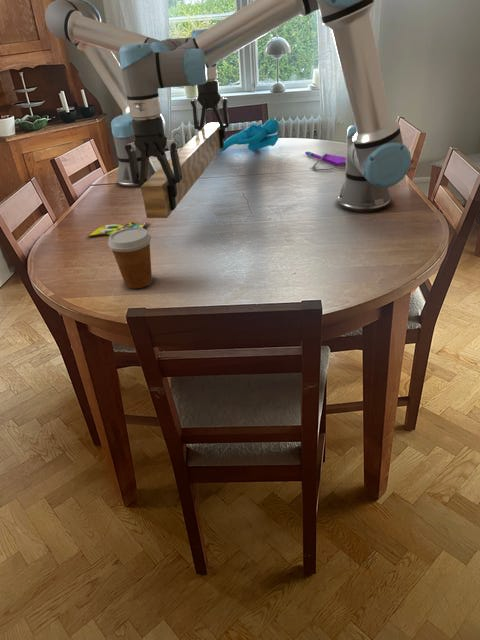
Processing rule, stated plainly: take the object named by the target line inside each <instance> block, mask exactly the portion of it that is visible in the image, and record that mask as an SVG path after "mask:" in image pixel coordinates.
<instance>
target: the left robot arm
mask: <svg viewBox="0 0 480 640" xmlns="http://www.w3.org/2000/svg"><path fill="white" fill-rule="evenodd" d="M44 20H45V24H46V26H47V29H48V30H49V31H50V33H51V34H52V35H53V36H54V37H56V38H57V39H60V40H63V41H66V42H70V43H73V44H74V46H75V47H76V49H77V50H79V51H82V52H84V54H85V55H86V57H87V58H88V60H89V61H90V63H91V65H92V66H93V67H94V69H95V70H96V73H97V74H98V75H99V77H100V78H101V80H102V81H103V83H104V85H105V86H106V88H107V89H108V91H109V93H110V94H111V95H112V97H113V98H114V100H115V103H116V104H117V105H118V106H119V108H120V110H121V112H122V114H120V115H117V116H116V117H114V118H113V119H112V120H111V122H110V127H111V134H112V138H113V142H114V146H115V151H116V156H117V160H118V167H117V168H118V170H117V183H118V186H120V187H123V188H124V187H125V188H136V187H137V188H138V187H140V185H138V184H133V182H132V176H131V170H130V164H129V157H128V154H127V152H126V150H125V146H126V145H127V144H129V143H133V142H134V139H135V136H134V132H133V127H132V119H134V118H132V117H131V116H130V110H129V105H128V100H127V94H126V89H125V84H124V80H123V75H122V70H121V63H120V62H119V60H118V59H117V58H116V55H115V54H119V50H120V48H121V47H122V46H124V45H130V44H142V43H149V44H150V45H151V48H152V50H153V52H166V51H173V50H174V49H175V48H177V47H178V46H180V45H183V44H185V43H186V42H188V41H189V40H191V39H193V38H195V37H196V36H198V35H199V34H201V33H202V32H204V31H206V30H207V29H208V28H203V29H193V30H191V32H190V36H189V37H178V38H177V37H175V38H165V39H162V40H159V39H156V38H154V37H153V38H152V37H150V36H147V35H144V34H141V33H137V32H134V31H131V30H128V29H125V28H123V27H119V26H116V25H112V24H110V23H106V22H103V21H102V17H101V15H100V12H99V10H98V9H97V7H96V6H95V5H94V4H92V3H91V2H89V1H87V0H53V1H52V2H50V3H49V4H48V6H47V7H46V8H45V13H44ZM114 53H115V54H114ZM119 55H120V54H119ZM217 68H218V67H217V63H216V64H214V65H212V66H211V67H209V68H207V69H206V73H207V81H206V83H205V84H200V85H196V88H197V98H195V99H192V100H191V101H190V105H191V107H192V117H193V127H194V130H197V131H198V132H199V131H200V130H201V129H202V128H203V127H204V126H205V125H206V116H207V111H208V110H209V109H210V110H212V111H213V112H214V114H215V117H216V121H217V123H219V125H220V128H221V129H220V130H219V136H220V147H221V148H223V147H224V141H225V140H226V137H227V136H226V129H228V128H229V127H230V125H231V123H230V116H229V107H228V101H229V97H223V96H221V95H220V90H219V80H217V79H218V69H217ZM219 103H221V105H222V112H223V113H222V114H223V117H222V114H221V112H220V108H219ZM198 105H200V106H201V112H200V113H201V114H200V121H199V108H198V107H199V106H198ZM160 116H161V117H162V119H163V125H164V133H166V121H165V118H164V116H163V114H162V113H161V114H160ZM223 139H224V141H223ZM135 152H136V156H137V163H138V170H139V176H140V169H141V152H140V151H139V149H138V148H137V147H136V151H135ZM156 172H157V169H156V168H155V166H154V163H153V161H152V159H151V157H149V163H148V174H147V180H148V179H149V178H150V177H151V176H152V175H153V174H155V173H156Z"/></svg>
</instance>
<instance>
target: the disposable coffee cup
mask: <svg viewBox="0 0 480 640" xmlns="http://www.w3.org/2000/svg"><path fill="white" fill-rule="evenodd" d="M151 239H152V236H151V234H150V233H149V232H148V230H147V229H146V228H144V229H143V228H137V227H136V228H126V229H123V228H122V230H118V231H116V232H114V233H112V234H111V235H109V237H108V242H107V246H108V247H109V248H110V250H111V251H112V254H113V257H114V260H115V261H116V264H117V267H118V269H119V272H120V275H121V277H122V280H123V282H124V284H125V286H126V288H128V289H140V288H145V287H147V286H149V285H150V284H151V283H152V281H153V276H152V260H151V257H152V256H151V244H150V243H151Z"/></svg>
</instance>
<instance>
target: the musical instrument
mask: <svg viewBox="0 0 480 640" xmlns="http://www.w3.org/2000/svg"><path fill="white" fill-rule="evenodd" d="M304 154H305V155H307V156H309V157H312V158H315V159H318V160H317V161H316V162H315V163H314V164H313V165H312V170H314V171H329V170H333V169H336V168H338V167H341V166H346V156H340V155H336V154H329V153H325V154H323V155H319V154H315V153H314V152H311V151H304ZM321 161H324V162H326V163H329V164H332V165H335V166H334V167H330V168H316V165H318V163H320V162H321Z"/></svg>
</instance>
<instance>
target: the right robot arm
mask: <svg viewBox="0 0 480 640" xmlns="http://www.w3.org/2000/svg"><path fill="white" fill-rule="evenodd" d="M374 4H375V0H253V1H251V2H250V3H248V4H247V5H245V6H243V7H242V8H240V9H238V10H237V11H235V12H233V13H232V14H230V15H228V16H227V17H225V18H224V19H222V20H221V21H219V22H217V23H215V24H214V25H212V26H211V27H209V28H206V29H207V30H206V31H204V32H202V33H201V34H199V35H198V36H196V37H195V38H193V39H191V40H189V41H188V42H186V43H185V44H183V45H180V46H178V47H177V48H175V49H174V50H173V51H166V52H153V50H152V48H151V45H150V44H149V43H142V44H130V45H124V46H122V47H121V48H120V50H119V60H120V65H121V70H122V75H123V80H124V84H125V89H126V94H127V100H128V105H129V110H130V116H131V117H132V118H134V119H132V127H133V132H134V136H135V139H134V142H133V143H129V144H127V145H126V146H125V150H126V152H127V154H128V157H129V164H130V170H131V176H132V182H133V184H138V185H140V186H139V187H140V188H141V186H142V185H143V184H144V183H145V182H146V181H147V174H148V163H149V157H150V158H151V157H154V158H156V160H157V161H158V162H159V164H160V166H161V167H162V169H163V171H164V173H165V175H166V178H167V180H168V182H169V185H168V186H167V190H168V196H169V202H170V208H171V210H173V211H175V209H176V208H177V206H176V201H175V197H176V196H177V194H178V192H177V186H176V183H179V182H180V181H181V180H182V172H181V167H180V162H179V157H178V151H179V141H177V140H175V141H172V140H169V139H168V137H167V136H166V134H165V133H166V132H165V133H164V125H163V119H162V117H161V116H160V114H161V115H162V107H161V100H160V93H159V89H167V88H180V87H195V86H197V85H200V84H205V83H206V81H207V73H206V69H207V68H209V67H211V66H212V65H214V64H216V65H217V63H219V62H221V61H223V60H224V59H226V58H228V57H230V56H231V55H233V54H235V53H236V52H238V51H240V50H241V49H243V48H244V47H246V46H248V45H250V44H251V43H253V42H255V41H257V40H258V39H261V38H262V37H263V36H265V35H267V34H268V33H271V32H272V31H273V30H276V29H277V28H279V27H281V26H282V25H284V24H285V23H287V22H289V21H291V20H293V19H294V18H296V17H297V16H300V17H303V18H305V17H307V16H308V15H310V14H312V13H314V12H316V11H318V12H319V15H320V18H321V23H322V25H323V26H325V27H326V28H328V29H330V30H331V34H332V37H333V42H334V46H335V50H336V54H337V58H338V62H339V65H340V69H341V73H342V77H343V81H344V85H345V90H346V95H347V97H348V102H349V105H350V110H351V114H352V118H353V121H354V124H351V125H350V126H349V127H348V128H347V133H346V137H345V139H346V148H345V149H346V150H345V157H346V165H345V176H344V181H343V182H342V186H341V189H340V192H339V195H338V197H337V206H339V208H340V209H343V210H345V211H349V212H354V213H373V212H379V211H383V210H385V209H387V208H388V207H389V206H390V205H391V194H390V189H389V187H392V186H396V185H397V184H398V183H400V182H401V181H402V180H403V179H404V178H406V175H407V174H408V173H409V171H410V168H411V165H412V156H411V155H412V154H411V153H410V150H409V148H408V147H407V146H406V145H405V144H404V142H403V137H402V131H401V126H400V123H399V122H397V121H395V120H393V119H392V115H391V111H390V106H389V101H388V97H387V92H386V87H385V82H384V78H383V74H382V67H381V63H380V58H379V53H378V49H377V44H376V39H375V34H374V29H373V24H372V20H371V16H370V15H371V14H370V13H371V11H372V9H373V6H374ZM136 147H137V148H138V149H139V151H140V152H141V169H140V176H139V170H138V163H137V156H136V152H135V151H136ZM166 147H167V149H168V151H169V154H170V158H171V161H172V166H173V171H174V174H173V172H172V169H171V167H170V165H169V162H168V160H169V159H168V158H167V153H166V151H165V149H166ZM140 192H142V190H141V189H140ZM141 197H143V195H142V194H141Z"/></svg>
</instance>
